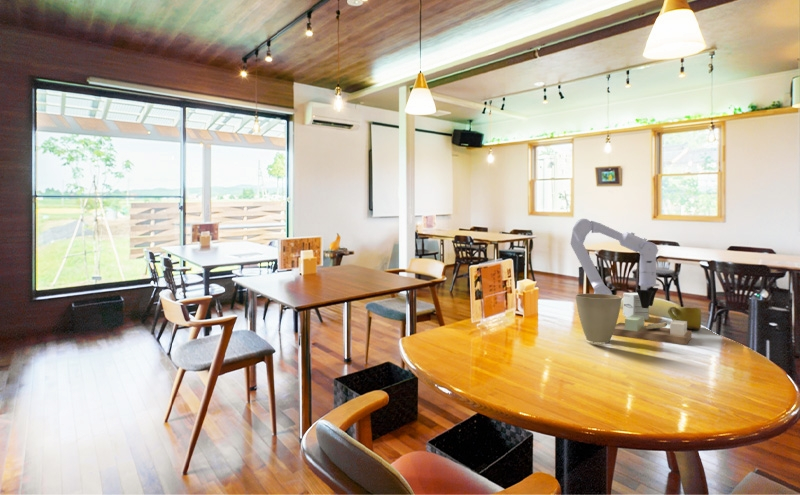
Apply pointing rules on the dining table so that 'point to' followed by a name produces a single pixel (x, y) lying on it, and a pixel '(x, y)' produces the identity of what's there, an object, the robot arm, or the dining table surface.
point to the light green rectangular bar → (634, 322)
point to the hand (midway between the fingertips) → (647, 306)
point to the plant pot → (598, 315)
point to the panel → (653, 334)
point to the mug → (687, 316)
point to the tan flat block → (656, 325)
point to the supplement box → (633, 306)
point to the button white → (678, 327)
